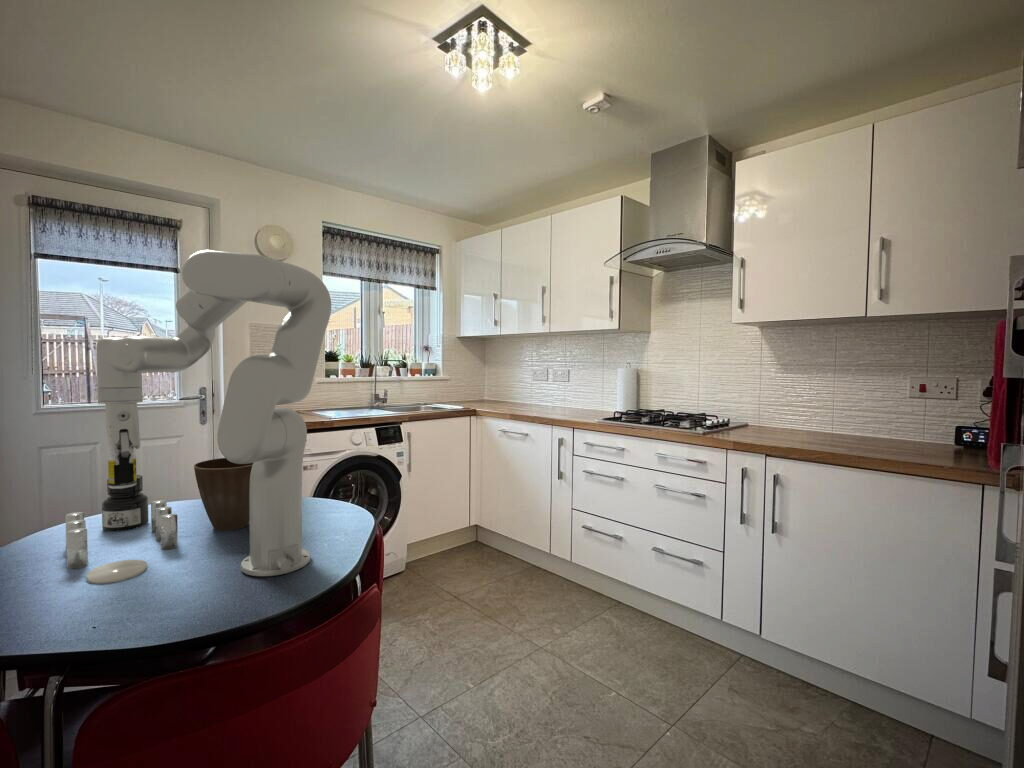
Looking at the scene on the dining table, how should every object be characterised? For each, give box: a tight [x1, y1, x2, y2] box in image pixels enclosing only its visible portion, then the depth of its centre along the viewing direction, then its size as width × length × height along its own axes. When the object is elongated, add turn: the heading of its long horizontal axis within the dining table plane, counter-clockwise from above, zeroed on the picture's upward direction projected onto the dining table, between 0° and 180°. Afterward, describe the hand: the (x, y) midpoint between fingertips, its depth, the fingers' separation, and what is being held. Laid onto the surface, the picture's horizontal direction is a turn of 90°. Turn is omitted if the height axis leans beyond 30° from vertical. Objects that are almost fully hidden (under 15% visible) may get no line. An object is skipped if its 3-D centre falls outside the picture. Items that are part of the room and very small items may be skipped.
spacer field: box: [65, 499, 179, 570], centre depth 108 cm, size 17×18×7 cm
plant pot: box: [193, 457, 254, 532], centre depth 122 cm, size 15×15×16 cm
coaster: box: [86, 559, 148, 585], centre depth 95 cm, size 9×9×1 cm
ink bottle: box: [101, 474, 149, 532], centre depth 121 cm, size 10×9×12 cm
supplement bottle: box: [107, 446, 137, 489], centre depth 106 cm, size 5×5×8 cm
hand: (122, 479), depth 106 cm, fingers closed on supplement bottle, 4 cm apart
